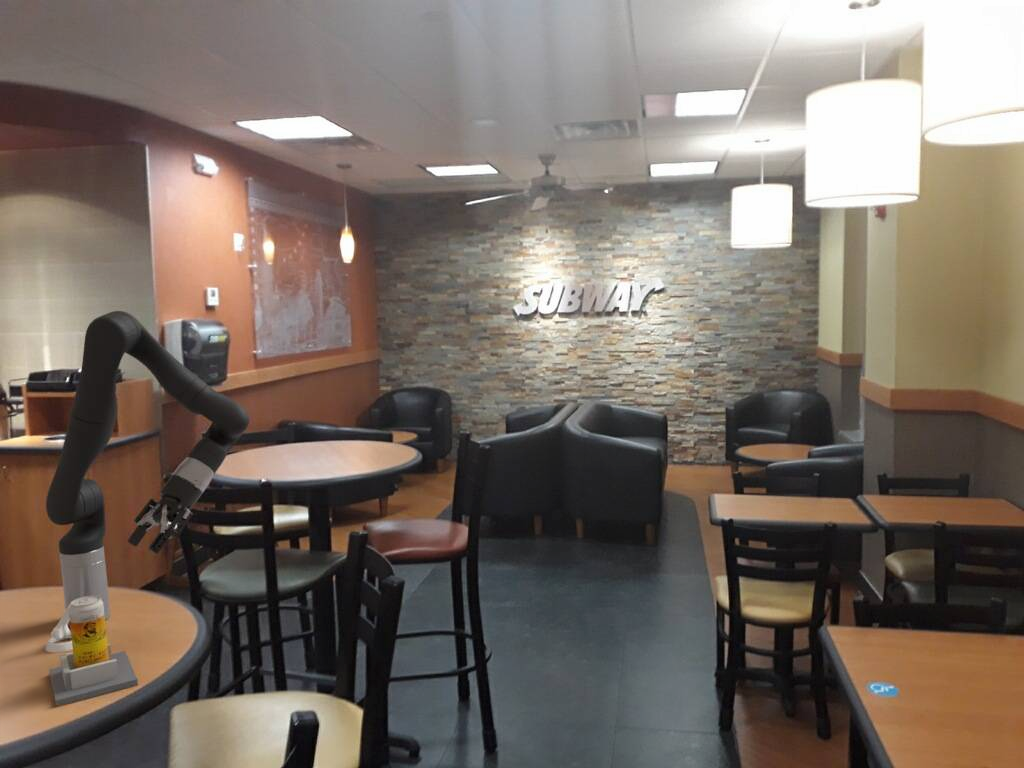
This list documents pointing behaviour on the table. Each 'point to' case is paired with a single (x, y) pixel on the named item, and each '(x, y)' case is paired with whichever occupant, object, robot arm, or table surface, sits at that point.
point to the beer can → (88, 631)
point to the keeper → (91, 678)
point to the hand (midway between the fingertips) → (141, 547)
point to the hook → (60, 635)
